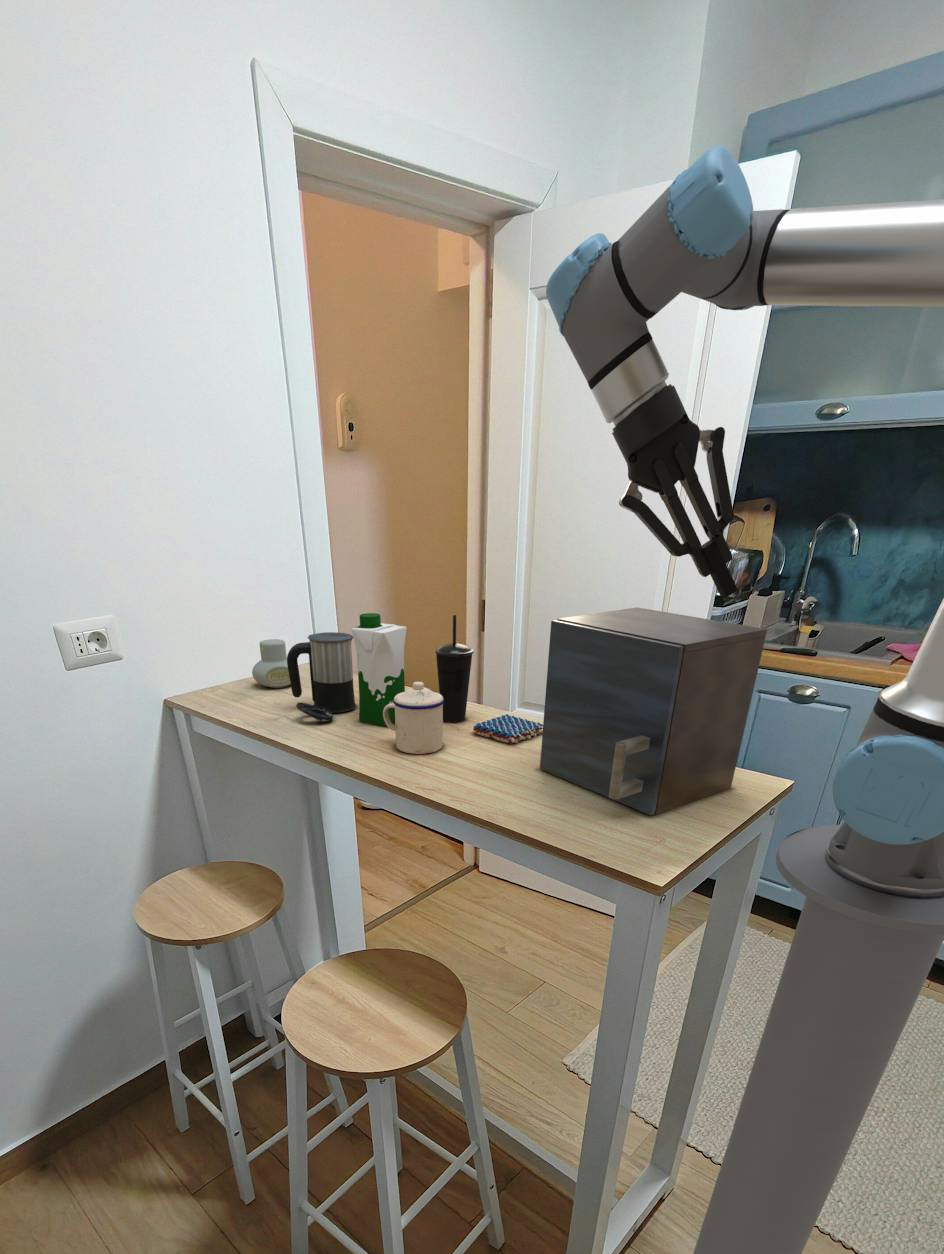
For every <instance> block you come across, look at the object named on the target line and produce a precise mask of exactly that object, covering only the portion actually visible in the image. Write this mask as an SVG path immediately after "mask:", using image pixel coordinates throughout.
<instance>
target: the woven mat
mask: <svg viewBox="0 0 944 1254" xmlns="http://www.w3.org/2000/svg"><path fill="white" fill-rule="evenodd" d="M472 730H473V732H474V733H475V734H476V735H478V736H481V737H484V738H493V739H494V740H495V741H499V742H504V743H507V744H508V743H510V744H514V743H515V744H518V743H519V741H522V740H523V741H525V740H531V738H532V737H537V735H539V734H543V723H541V722H539V721H538V722H535V721H533V720H531V721H530V720H528V719H526V718H525V719H523V718H521V717H516V716H514V715H509V714H508V713H506V714H503V715H501V716H497V717H493V718H491V719H487V720H484V721H481V722H476V724H475V725H474V726H473V729H472Z"/></svg>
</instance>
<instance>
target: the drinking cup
mask: <svg viewBox="0 0 944 1254" xmlns="http://www.w3.org/2000/svg"><path fill="white" fill-rule="evenodd" d="M474 653H475V650H474V648H472V647H469V646H468V645H466V644H464V643H460V642H457V614H453V615H452V642H450V643H445V644H442V645H441V646H439V647H436V648H435V649H434V654H435V658H436V667H437V668H436V670H437V679H438V693H439V694H441V695H442V697H443V699H444V703H443V722H445V723H455V724H457V723H461V722H462V723H463V722H464V721H465V720H466V715H467V714H466V713H467V705H468V695H469V688H470V687H469V686H470V680H471V679H470V677H471V668H472V660H473V659H472V658H473V655H474Z"/></svg>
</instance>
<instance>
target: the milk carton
mask: <svg viewBox="0 0 944 1254" xmlns="http://www.w3.org/2000/svg"><path fill="white" fill-rule="evenodd" d="M381 618H382V617H381V614H380V613H374V612H368V613H361V614H359V625H358V626H355V627H352V628H351V635H352V636H353V642H354V645H355V651H356V662H357V663H356V664H357V678H358V681H357V682H358V721H359V722H361V723H365V724H371V725H375V726H376V725H377V726H380V727H381V726H382V727H387V728H388V726H387V725H386V723H385V721H384V718H383V710H384V708H385V706H386V705H388V704H390V703H393V700H394V697H395V696H396V695H397V694H399V693H402V692H405V691H406V685H405V684H406V682H405V646H406V645H405V644H406V636H407V635H406V634H407V626H405V625H404V626H402V625H397V624H393V623H383V622H382V621H381ZM388 715H389V718H390V721H391V722H392V724H394V725H395V708H389V711H388Z"/></svg>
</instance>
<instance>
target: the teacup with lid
mask: <svg viewBox="0 0 944 1254" xmlns="http://www.w3.org/2000/svg"><path fill="white" fill-rule="evenodd" d="M443 703H444V699H443V697H442V695H441V694H440V693H439V692H436V691H432V690H431V689H430V688H428V687H425V684H424V682H423V681H414V682H413V683H412V687H410V688H408V689H405V692H402V693H399V694H397V695H396V696H395V697H394V700H393V703H390V704H388V705H386V706H385V708H384V710H383V718H384V721H385V723H386V725H387V728H388V729H390V730H392V731H394V732H395V745H396V746H395V747H396V749H397V750H399V751H400V752H403V753H406V754H412V755H425V754H432V753H435V752H437V751H440V750H441V749H442V747H443V746H444V745H443V743H444V741H443V740H444V736H443V735H444V733H443V732H444V728H443V727H444V723H443V722H444V721H443ZM389 708H395V723H394V724H392V722H391V721H390V718H389V715H388V711H389Z"/></svg>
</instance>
